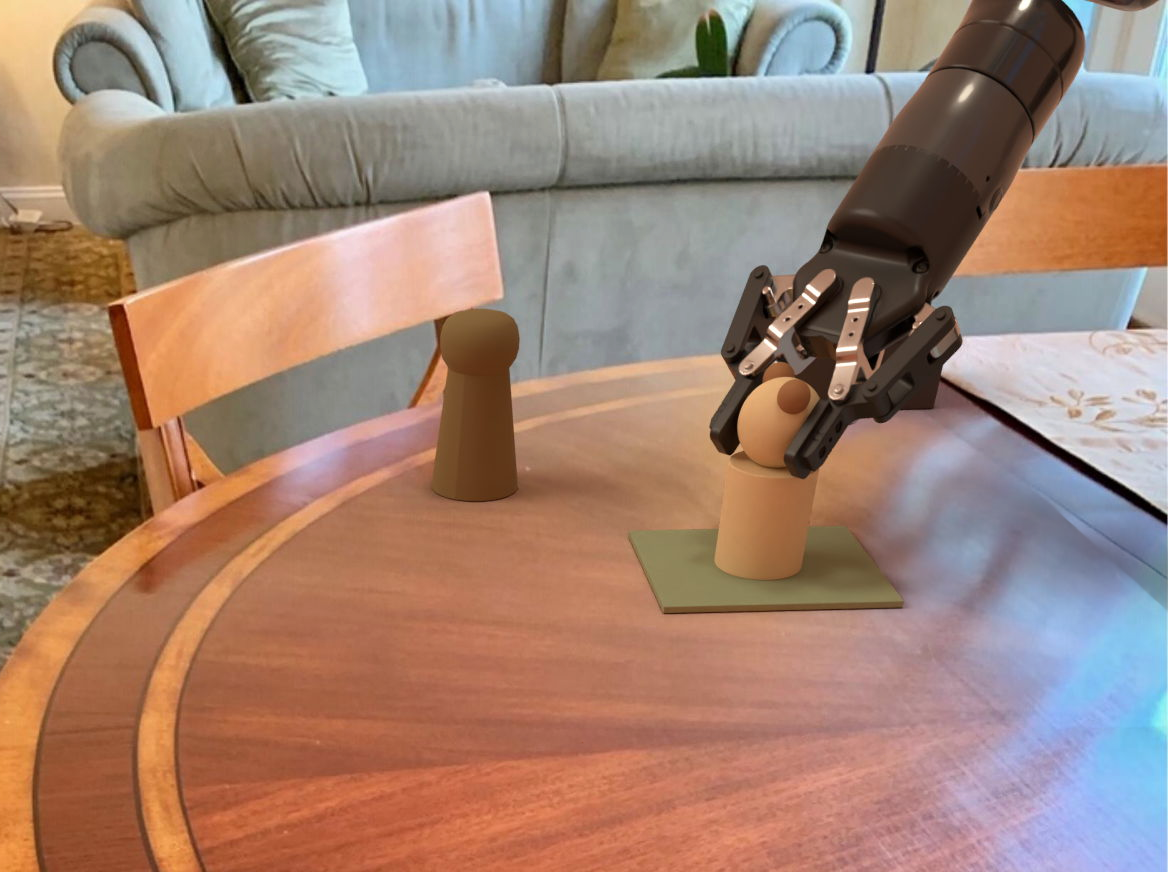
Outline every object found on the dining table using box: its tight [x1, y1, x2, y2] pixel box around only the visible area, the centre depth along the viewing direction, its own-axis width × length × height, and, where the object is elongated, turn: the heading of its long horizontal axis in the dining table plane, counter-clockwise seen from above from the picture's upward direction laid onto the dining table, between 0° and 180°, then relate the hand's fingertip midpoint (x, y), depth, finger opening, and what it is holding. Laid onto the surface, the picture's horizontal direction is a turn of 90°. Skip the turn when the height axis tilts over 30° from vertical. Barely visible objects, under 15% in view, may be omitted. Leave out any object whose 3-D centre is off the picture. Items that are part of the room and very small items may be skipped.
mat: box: [628, 525, 905, 614], centre depth 90 cm, size 14×12×1 cm
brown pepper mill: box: [430, 308, 521, 502], centre depth 98 cm, size 6×6×11 cm
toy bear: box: [714, 362, 820, 580], centre depth 86 cm, size 5×5×11 cm
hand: (756, 457), depth 84 cm, fingers closed on toy bear, 4 cm apart
